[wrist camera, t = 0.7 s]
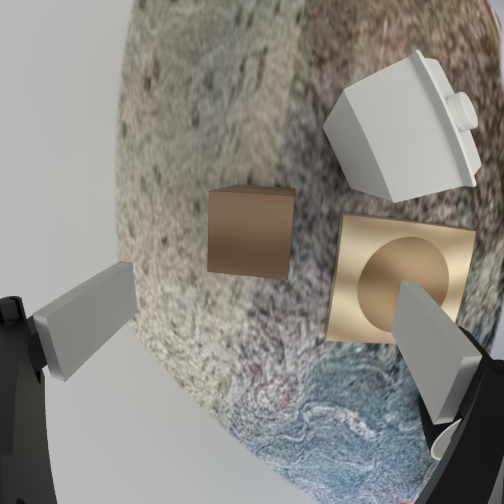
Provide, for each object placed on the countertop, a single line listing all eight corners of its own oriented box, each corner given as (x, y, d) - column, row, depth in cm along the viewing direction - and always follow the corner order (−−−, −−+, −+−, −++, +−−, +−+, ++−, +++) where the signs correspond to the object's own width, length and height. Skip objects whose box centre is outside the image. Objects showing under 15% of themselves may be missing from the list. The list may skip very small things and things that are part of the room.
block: (237, 184, 32) (209, 191, 22) (294, 188, 32) (294, 196, 21) (234, 240, 34) (207, 271, 23) (290, 245, 33) (287, 279, 23)
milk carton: (350, 188, 31) (418, 212, 13) (321, 126, 30) (355, 68, 11) (407, 164, 29) (519, 165, 11) (380, 103, 28) (466, 38, 10)
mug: (457, 406, 36) (479, 450, 26) (407, 418, 37) (423, 467, 27) (475, 343, 33) (508, 384, 23) (420, 354, 34) (447, 403, 25)
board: (340, 212, 32) (343, 215, 29) (467, 228, 30) (476, 232, 28) (324, 331, 35) (325, 341, 33) (442, 336, 33) (448, 344, 31)
